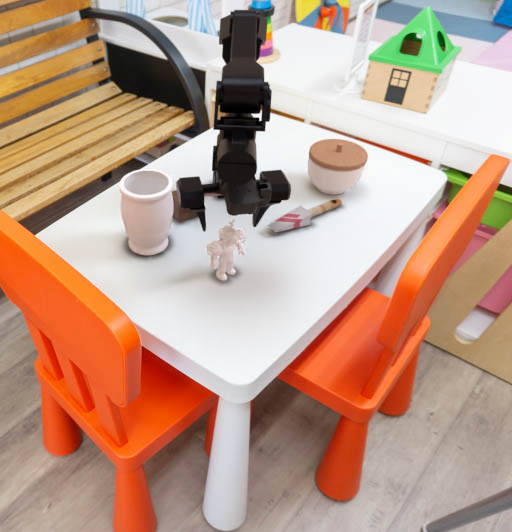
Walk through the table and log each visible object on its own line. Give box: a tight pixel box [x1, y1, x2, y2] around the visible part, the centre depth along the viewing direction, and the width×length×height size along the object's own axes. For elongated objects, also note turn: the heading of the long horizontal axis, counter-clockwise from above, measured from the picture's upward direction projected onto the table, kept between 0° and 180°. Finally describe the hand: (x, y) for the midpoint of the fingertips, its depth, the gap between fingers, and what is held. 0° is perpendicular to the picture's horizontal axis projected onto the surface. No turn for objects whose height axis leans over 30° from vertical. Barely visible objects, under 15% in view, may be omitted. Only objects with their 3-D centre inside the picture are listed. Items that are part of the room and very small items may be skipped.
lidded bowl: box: [307, 138, 369, 196], centre depth 121 cm, size 13×13×11 cm
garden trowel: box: [266, 197, 343, 233], centre depth 114 cm, size 4×3×20 cm
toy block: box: [171, 189, 199, 223], centre depth 117 cm, size 5×5×5 cm
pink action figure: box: [206, 216, 248, 282], centre depth 99 cm, size 9×4×12 cm, turn 127°
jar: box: [118, 168, 174, 256], centre depth 106 cm, size 11×10×15 cm
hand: (229, 228), depth 96 cm, fingers open, 9 cm apart
